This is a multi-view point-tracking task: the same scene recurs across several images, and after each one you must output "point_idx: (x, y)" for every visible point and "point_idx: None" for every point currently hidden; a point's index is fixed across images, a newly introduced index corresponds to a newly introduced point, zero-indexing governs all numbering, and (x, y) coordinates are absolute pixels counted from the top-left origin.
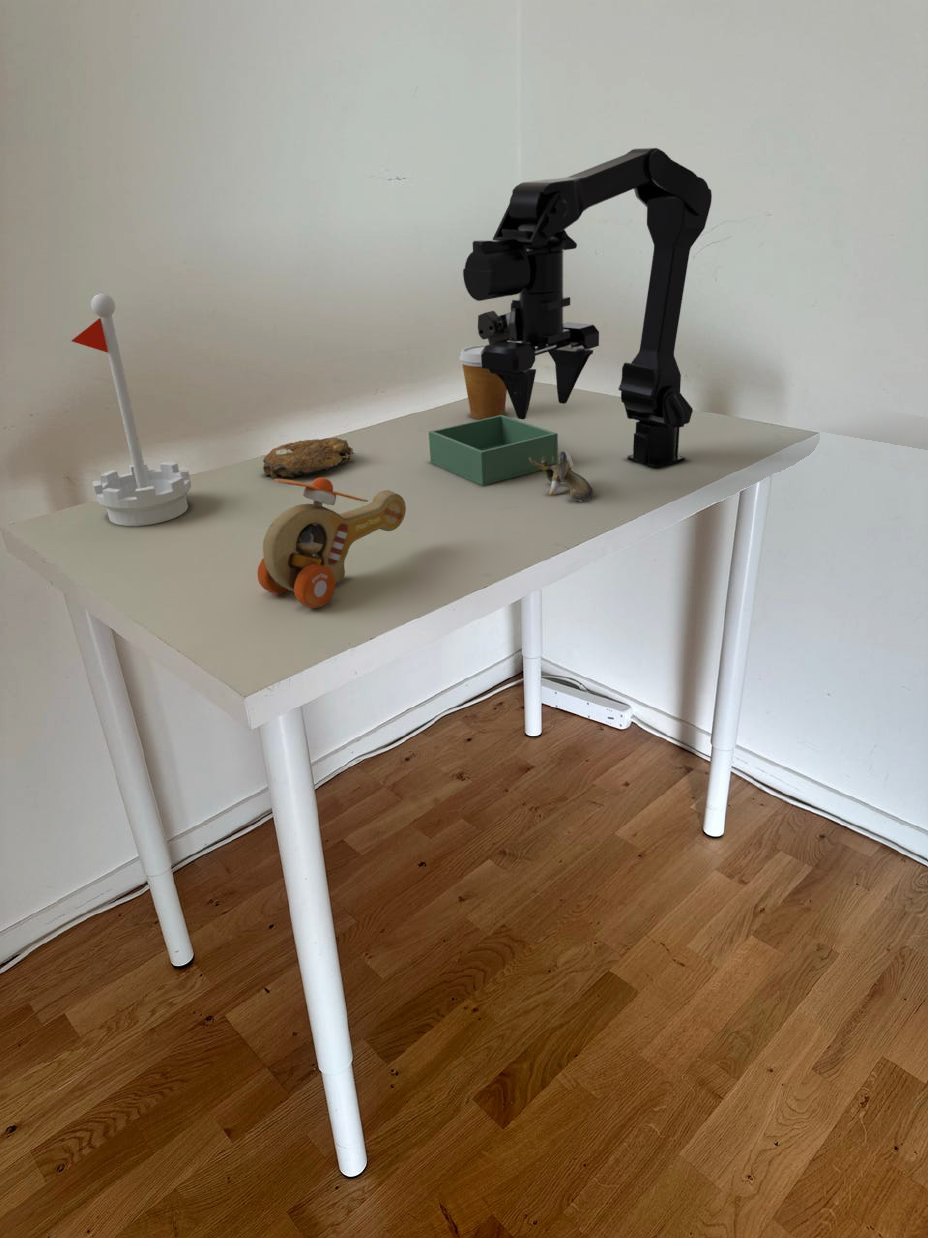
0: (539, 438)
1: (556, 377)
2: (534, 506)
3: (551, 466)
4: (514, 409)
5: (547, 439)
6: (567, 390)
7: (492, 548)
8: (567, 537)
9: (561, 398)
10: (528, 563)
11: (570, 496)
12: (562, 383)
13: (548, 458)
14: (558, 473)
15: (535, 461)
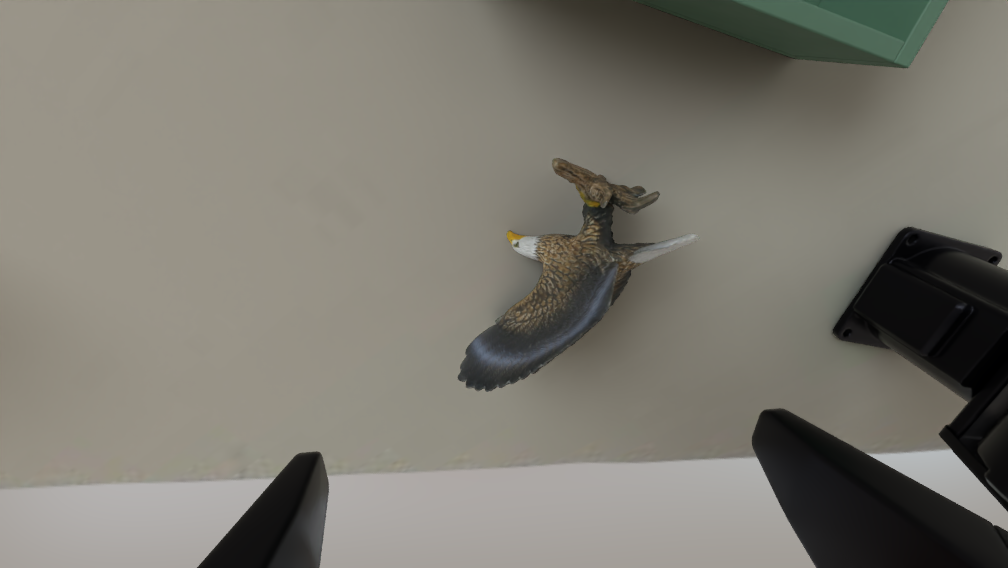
0: (813, 32)
1: (935, 547)
2: (397, 259)
3: (593, 221)
4: (253, 503)
5: (842, 48)
6: (805, 536)
7: (67, 371)
8: (289, 444)
9: (775, 449)
10: (100, 475)
11: (503, 315)
12: (861, 549)
13: (782, 46)
14: (547, 279)
15: (571, 173)
